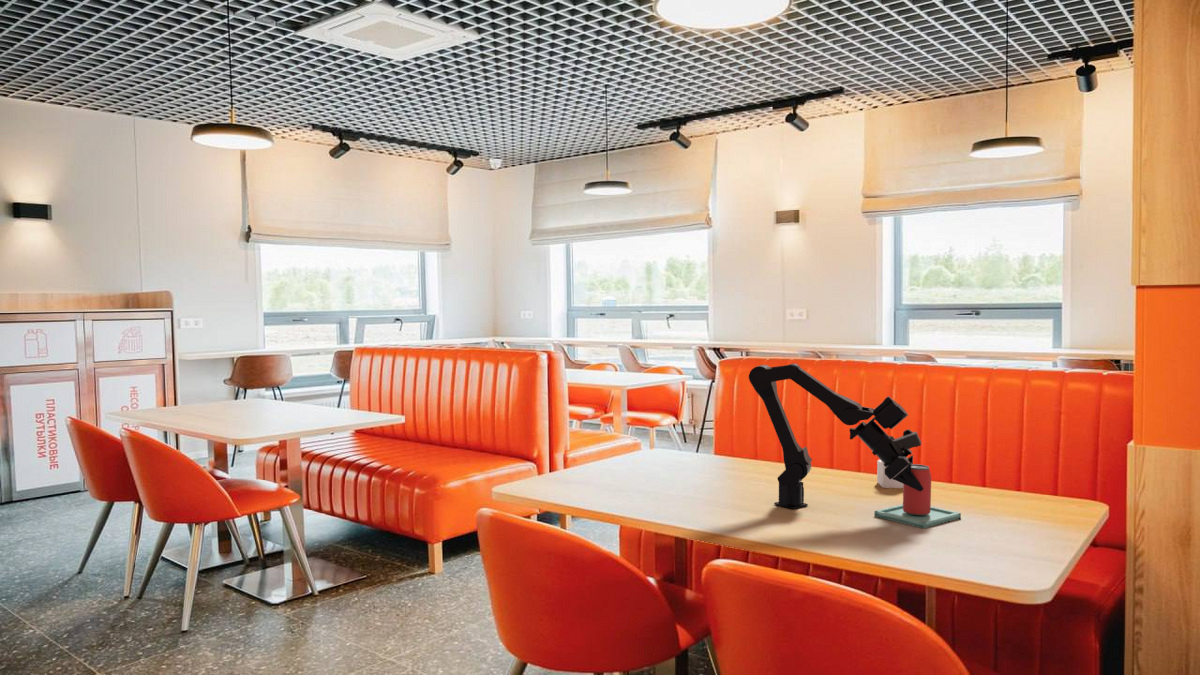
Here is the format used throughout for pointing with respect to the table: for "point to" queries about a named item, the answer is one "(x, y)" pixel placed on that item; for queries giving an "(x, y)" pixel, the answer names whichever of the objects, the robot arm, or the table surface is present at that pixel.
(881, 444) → the robot arm
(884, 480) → the medicine bottle
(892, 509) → the tray
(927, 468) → the beer can
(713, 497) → the table surface
